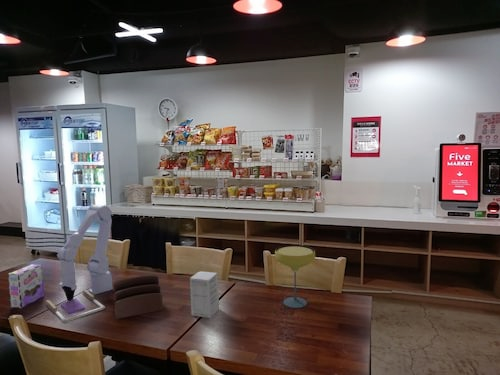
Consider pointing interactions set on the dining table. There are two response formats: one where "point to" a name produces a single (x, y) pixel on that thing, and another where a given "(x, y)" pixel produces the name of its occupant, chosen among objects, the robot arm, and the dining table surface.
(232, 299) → the dining table surface
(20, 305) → the candy box
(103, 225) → the robot arm
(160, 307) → the letter holder
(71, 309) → the sponges
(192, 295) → the supplement box
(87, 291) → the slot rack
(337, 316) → the dining table surface
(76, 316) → the frame
